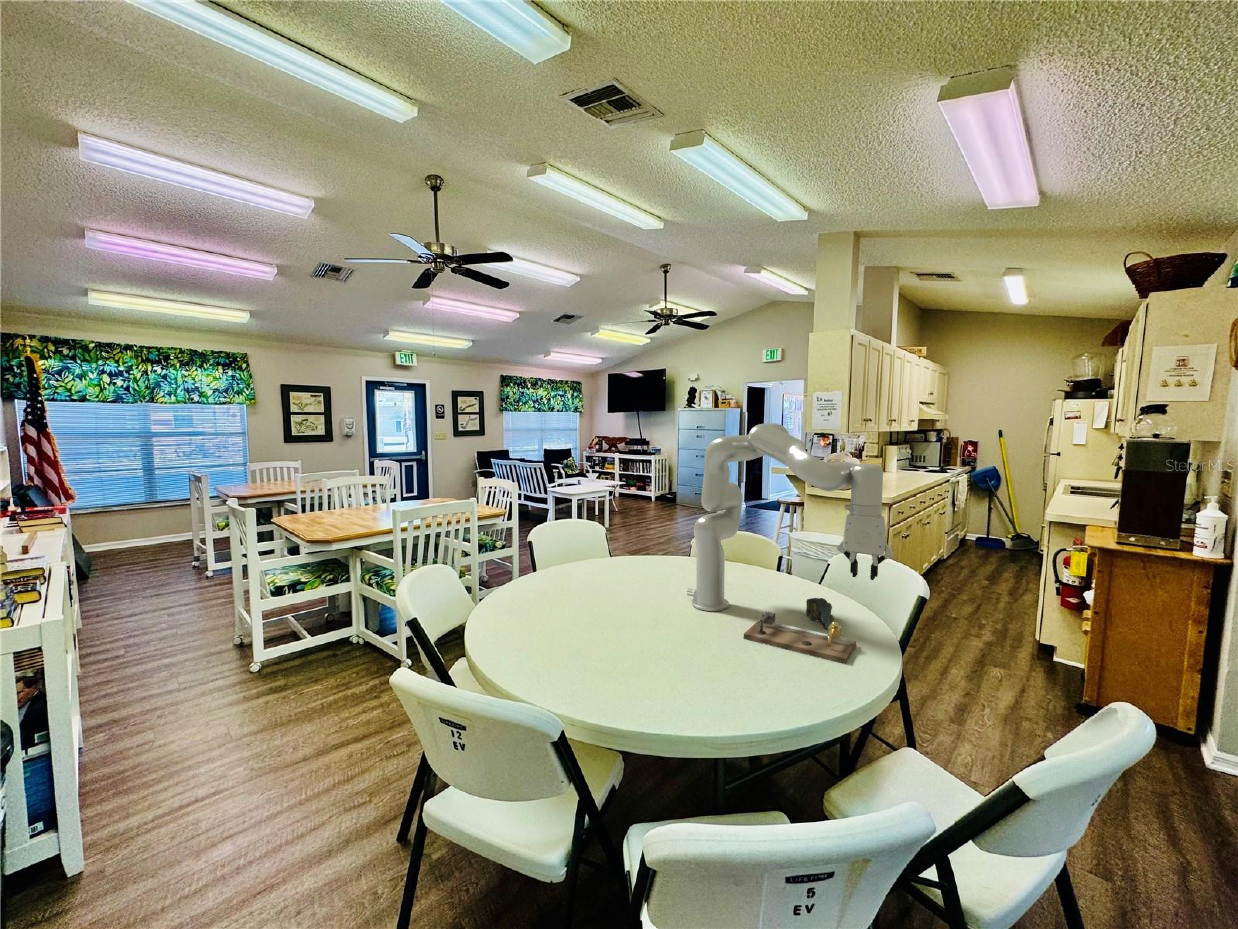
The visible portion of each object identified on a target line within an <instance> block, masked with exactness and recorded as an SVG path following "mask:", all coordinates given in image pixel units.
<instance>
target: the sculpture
mask: <svg viewBox="0 0 1238 929" xmlns="http://www.w3.org/2000/svg"><path fill="white" fill-rule="evenodd" d="M805 604H806V605H805V606H806V609H805V612H806V616H807V617H808V618H809V620H811V621H814V620H818V621H817V622H819V624H820V625H821V626H822V627H823V629H824V630H826V631H828V627H829V626H830V624H832V622H835V617H834V615H833V614H832V609H833V605H832V603H830V602H828V601H827V600H826V599H825V598H822V597H819V598H818V597H813V598H807V599H806V602H805Z"/></svg>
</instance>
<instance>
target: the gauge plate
mask: <svg viewBox="0 0 1238 929" xmlns="http://www.w3.org/2000/svg"><path fill="white" fill-rule="evenodd" d="M743 639H744V640H748V641H752V642H755V643H760V644H763V643H765V644H764V645H767V644H769V645H768V646H771V645H772V647H775V646H776V648H779V647H781V648H780V649H783V648H784V649H783V650H788V651H791V650H792V652H795V651H796V652H795V653H799V652H800V653H799V654H804V655H807V654H809V655H808V656H812V657H815V658H819V657H821V658H820V659H824V660H828V661H832V662H836V663H841V664H844V665H846V664H847V663H848V661H849V659H850V658H851V656H852V654H853V653H854V650H855V649H856V647H857V640H854V639H852V638H846V637H842V636H841V637H840V639H836V638H831V647H828V633H824V632H819V631H814V630H810V629H806V628H805V629H804V628H802V627H796V626H793V625H787V624H783V623H780V622H779V623H778V622H776V613H775V612H770V611H766V610H765V611H764V612H763V613H762V614H761V618H760V619H758V620H757V621H756V622H755V623H754V624H753V625H752V626H750V627H749V628H748V629H747V630H746V631H745V632H744V633H743Z"/></svg>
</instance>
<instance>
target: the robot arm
mask: <svg viewBox="0 0 1238 929" xmlns="http://www.w3.org/2000/svg"><path fill="white" fill-rule="evenodd" d="M763 456H767V457H769V458H771V459H773V460H775V461H777V462H778V463H781V464H783V465H784V466H786V467H788V469H789V470H790V472H792V473H793V474H794V475H795V476H796V477H797V478H799V479H800V480H801V481H803V482H805V483H807V484H808V485H810V486H813V487H814V488H817V489H819V490H820V491H821V490H822V491H824V492H834V491H839V490H845V489H850V503H848V504H844V510H847V511H849V513H848V514H846V518H845V523H844V531H843V540H842V541H841V542H840V543H839V544H838V546H837V549H836V550H837V551H838V552H840V553H842V554H843V555H844V556H845V557H846V559H847V560H849V563H850V569H849V572H850V574H852V578H856V577H857V576H858V572H859V570H858V568H859V561H858V560H857V555H858V554H862V555H869V556H871V560H872V563H871V565H870V576H869V578H870V580H871V581H874V580H875V579H876V578H878V577H879V576H878V574H879V565H880V564H882V562H885V561H886V560H888V559H890V558H893V557H894V555H895V554H894V553H893V550H892V549H891V547H890V546H889V545H888V543H887V542H888V541H887V527H886V520H885V517H884V516H883V515H882V513H883V512H882V511H883V484H884V482H883V481H884V469H883V468H882V465H881V466H880V465H878V464H872V463H871V464H867V463H862V464H861V463H860V464H858V463H854V462H853V463H852V462H848V461H836V462H827V461H824V460H822V459H820V458H818V457H816V456H814V455H812V454H811V453H809V452H808V451H807V450H806V444H805V443H804V441H803V440H801V439H799V438H797V437H794V435H793V436H792V435H790V433H789V431H788V429H787V428H786V427H785V426H783V425H782V424H779V423H761V424H760V423H759V424H757V425H755V426H753V427H752V428H751V429H750V431H749V433H748V434H746V435H743V434H742V435H726V436H725V435H724V436H720V437H718V438H715V439H714V440H712V441H711V442H710V443H709V444H708V445H707V447H706V449H705V454H704V471H703V472H704V474H703V479H702V490H701V497H700V499H701V506H702V508H703V509H704V510H706V511H707V512H713V513H709V514H705V515H702V516H701V517H699V518H697V520H696V521H695V523H694V525H693V536H694V540H695V548H696V550H695V551H696V559H695V560H696V574H695V575H696V576H695V577H696V585H695V586H696V588H695V589H693V588H690V587H689V588H687V590H686V596H688V597H692V598H693V599H692V601H691V605H692V607H694V608H696V609H698V610H701V611H705V612H706V611H707V612H719V611H723V610H727V609H728V608H729V606H730V602H729V601H728V600H727V599H726V598H725V576H726V575H725V571H726V570H725V565H726V564H725V563H726V562H725V558H726V557H725V551H724V548H723V544H722V542H721V541H724V540H726V539H730V538H732V537H734V536H735V535H736V534H737V532H738V531H739V527H740V523H741V514H742V507H743V493H742V490H741V488H740V487H739V485H738V484H736V482H734V481H730V476H731V470H730V467H729V463H734V462H745V461H751V460H754V459H757V458H761V457H763ZM714 512H716V513H714Z"/></svg>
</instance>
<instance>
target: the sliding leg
mask: <svg viewBox="0 0 1238 929" xmlns="http://www.w3.org/2000/svg"><path fill="white" fill-rule="evenodd" d="M827 634H828V647H831V638H836V639H840V637H842V634H843V627H842V626H841V625H839V622H837V621H834V622H832V624H830V626H829V627H828V630H827Z"/></svg>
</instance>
